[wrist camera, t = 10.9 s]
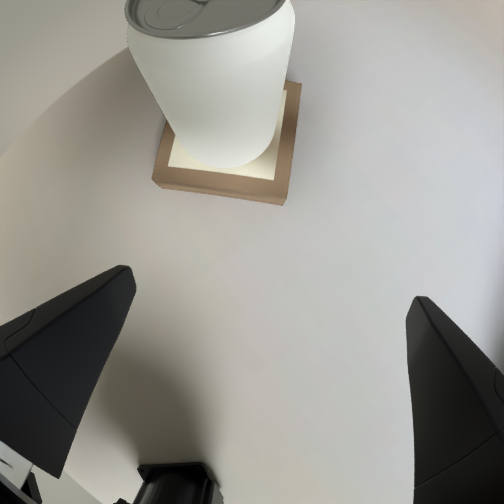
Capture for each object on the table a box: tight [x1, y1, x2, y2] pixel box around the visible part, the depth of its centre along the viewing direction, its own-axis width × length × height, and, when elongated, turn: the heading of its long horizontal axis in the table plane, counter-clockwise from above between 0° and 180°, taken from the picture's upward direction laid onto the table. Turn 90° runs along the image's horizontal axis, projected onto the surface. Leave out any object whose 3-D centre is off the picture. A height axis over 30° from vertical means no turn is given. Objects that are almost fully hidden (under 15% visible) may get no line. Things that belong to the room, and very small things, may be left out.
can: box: [125, 0, 295, 168], centre depth 13 cm, size 6×6×12 cm
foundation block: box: [152, 81, 302, 206], centre depth 20 cm, size 9×9×3 cm
